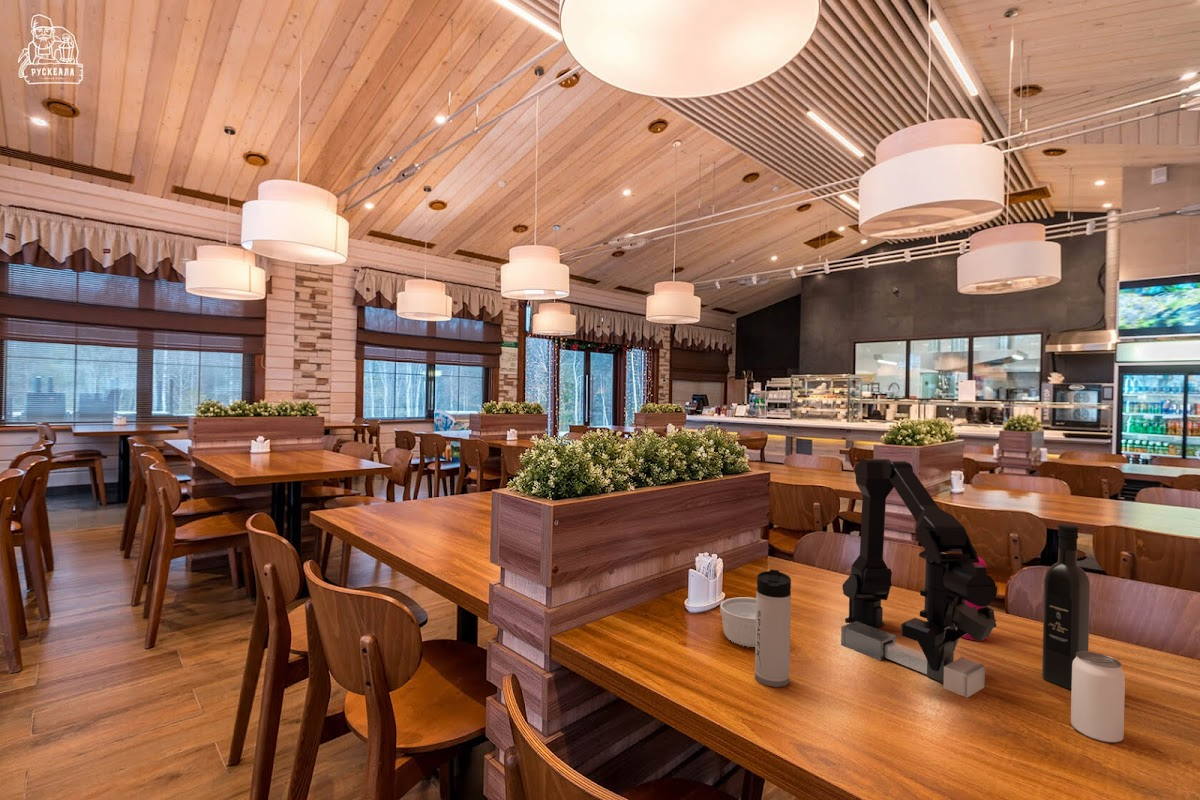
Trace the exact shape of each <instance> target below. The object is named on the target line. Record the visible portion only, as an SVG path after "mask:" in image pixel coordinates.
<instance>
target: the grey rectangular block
mask: <svg viewBox="0 0 1200 800" xmlns="http://www.w3.org/2000/svg"><path fill="white" fill-rule="evenodd" d="M985 673H986V665H984V664H982V663H979V662H976V661H974V660H970V659H969V658H964V657H963V656H962V657H960V658H957V659H956V660H953V662H951V663H949V664H948V665H946V666H944V683H943V689H945V690H946V689H947V691H949V692H950V693H951V692H952V693H953V694H956V695H959V696H962V697H964V698H966V699H967V698H969V697H971V696H972V695H974V694H977V693H978V692H980V691H981V690H982V689H984V688H985V685H986V684H985V681H986V680H985V678H986V677H985V675H986V674H985Z"/></svg>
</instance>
